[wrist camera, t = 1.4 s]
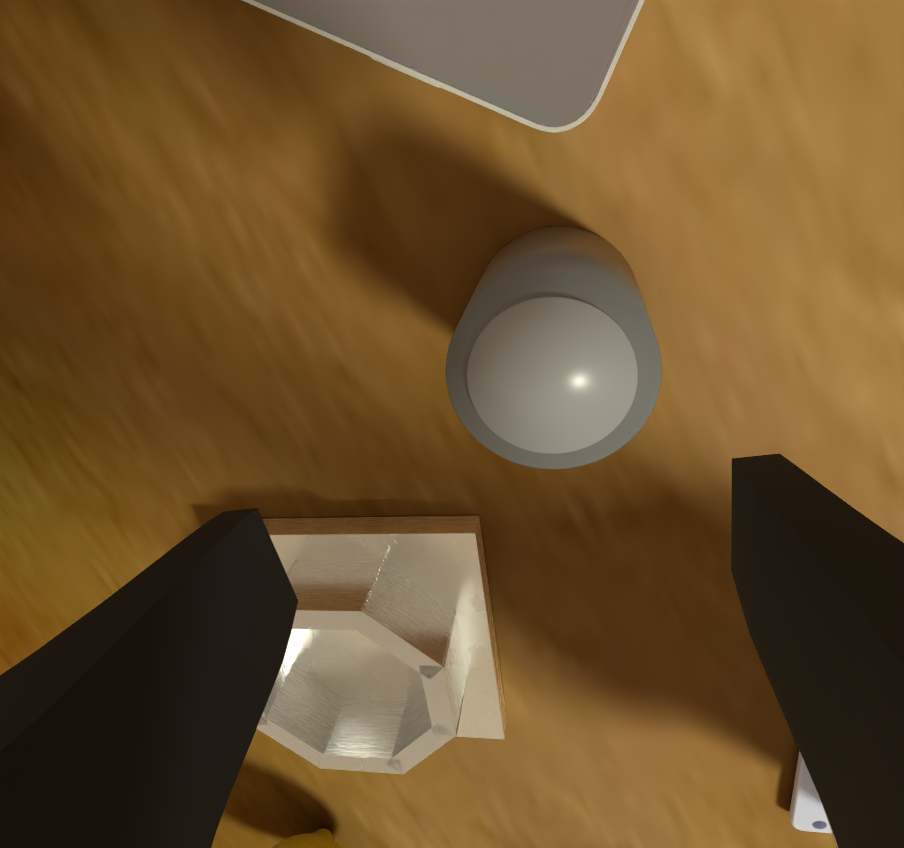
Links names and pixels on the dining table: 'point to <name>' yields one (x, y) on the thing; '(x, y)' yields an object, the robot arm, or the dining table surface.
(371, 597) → the octagonal socket plate
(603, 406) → the cylindrical peg
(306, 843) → the lemon
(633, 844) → the dining table surface
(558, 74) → the smartphone
